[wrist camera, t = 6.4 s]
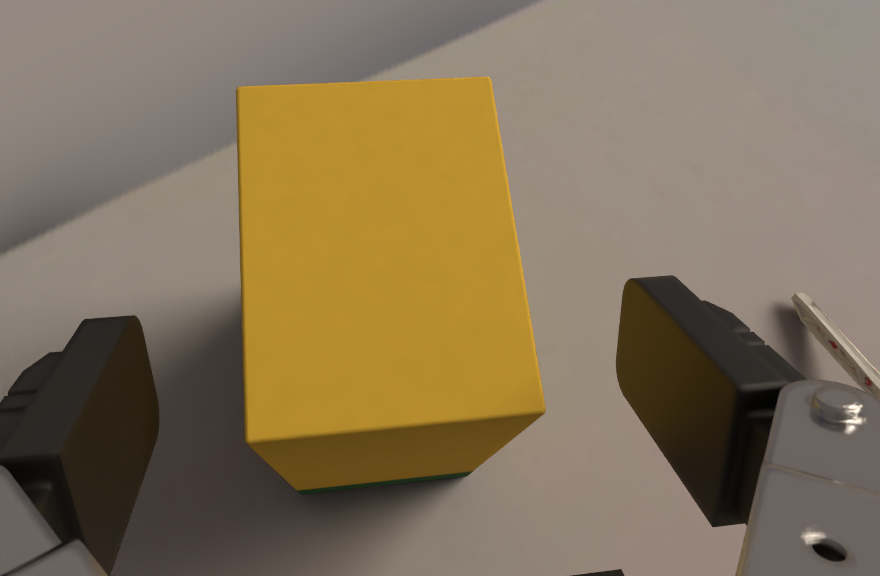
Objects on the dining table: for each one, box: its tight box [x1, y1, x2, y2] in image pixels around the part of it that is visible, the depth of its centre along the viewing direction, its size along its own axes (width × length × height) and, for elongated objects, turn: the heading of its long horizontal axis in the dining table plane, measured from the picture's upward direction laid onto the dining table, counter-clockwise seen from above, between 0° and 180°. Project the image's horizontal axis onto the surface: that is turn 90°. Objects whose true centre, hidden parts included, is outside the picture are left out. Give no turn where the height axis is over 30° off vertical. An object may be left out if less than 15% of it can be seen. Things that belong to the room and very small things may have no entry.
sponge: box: [236, 77, 546, 494], centre depth 16 cm, size 4×6×9 cm
